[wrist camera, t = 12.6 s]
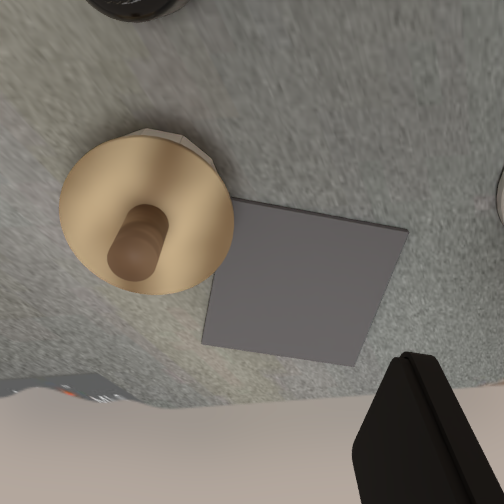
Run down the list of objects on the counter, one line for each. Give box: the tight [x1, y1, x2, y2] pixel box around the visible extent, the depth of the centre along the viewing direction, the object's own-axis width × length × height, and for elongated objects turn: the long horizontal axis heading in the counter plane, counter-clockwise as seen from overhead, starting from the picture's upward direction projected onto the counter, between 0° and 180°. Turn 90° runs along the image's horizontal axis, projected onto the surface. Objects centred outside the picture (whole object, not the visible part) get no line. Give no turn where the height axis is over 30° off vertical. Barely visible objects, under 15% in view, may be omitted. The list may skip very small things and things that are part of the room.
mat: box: [201, 197, 409, 367], centre depth 45 cm, size 16×16×1 cm
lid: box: [59, 135, 234, 295], centre depth 34 cm, size 13×13×6 cm
